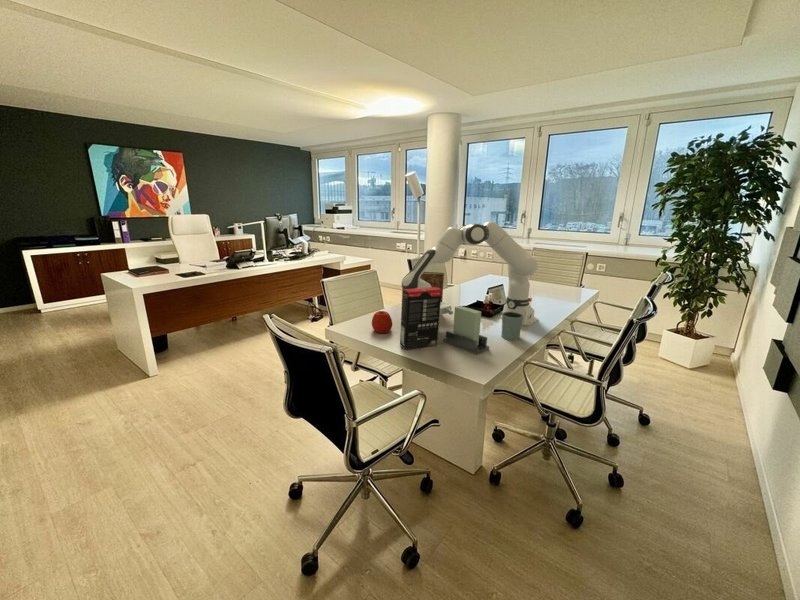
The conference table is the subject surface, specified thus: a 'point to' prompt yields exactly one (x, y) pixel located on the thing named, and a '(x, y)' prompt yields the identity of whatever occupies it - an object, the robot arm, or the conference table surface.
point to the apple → (382, 322)
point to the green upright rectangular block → (467, 323)
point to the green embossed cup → (511, 325)
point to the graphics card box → (420, 317)
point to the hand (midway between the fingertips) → (445, 314)
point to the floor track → (467, 342)
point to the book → (434, 280)
